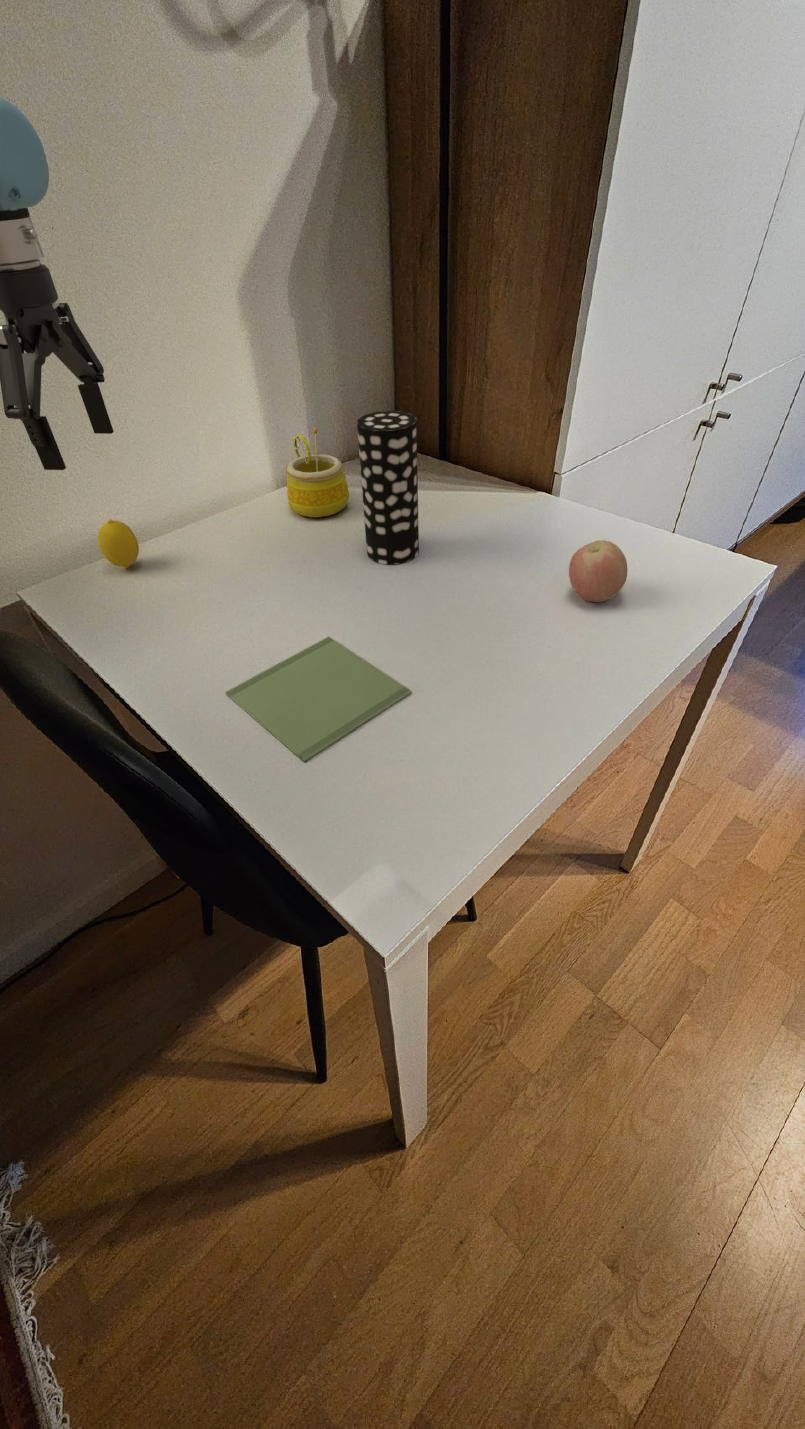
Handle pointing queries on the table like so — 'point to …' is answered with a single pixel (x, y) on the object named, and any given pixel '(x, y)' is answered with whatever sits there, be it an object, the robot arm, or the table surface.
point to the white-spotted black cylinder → (389, 485)
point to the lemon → (118, 543)
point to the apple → (598, 571)
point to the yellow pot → (315, 482)
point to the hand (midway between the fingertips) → (81, 450)
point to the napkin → (317, 697)
